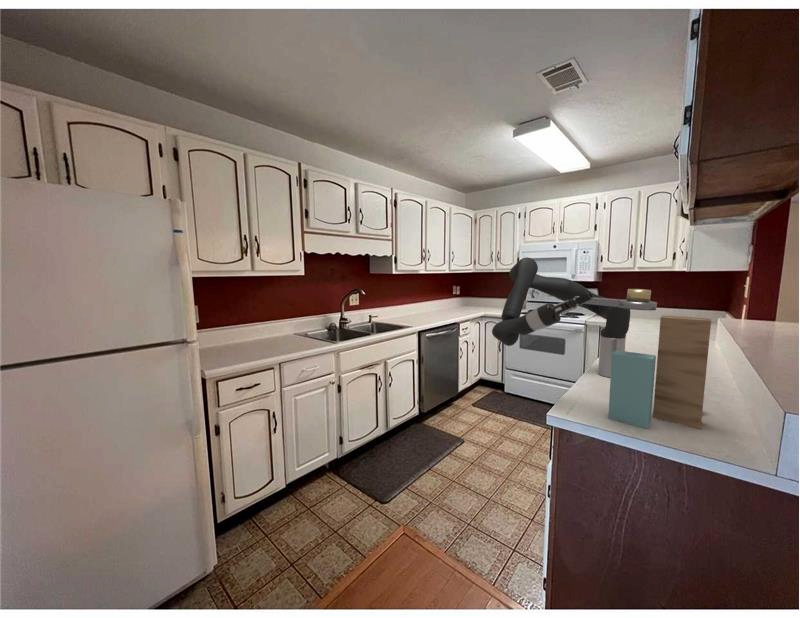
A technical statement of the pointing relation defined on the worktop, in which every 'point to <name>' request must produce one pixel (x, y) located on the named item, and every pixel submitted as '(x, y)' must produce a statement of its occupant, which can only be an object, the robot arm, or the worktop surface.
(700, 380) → the tall stand
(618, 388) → the tall block
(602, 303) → the grey lever handle
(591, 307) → the robot arm
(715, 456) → the worktop surface
